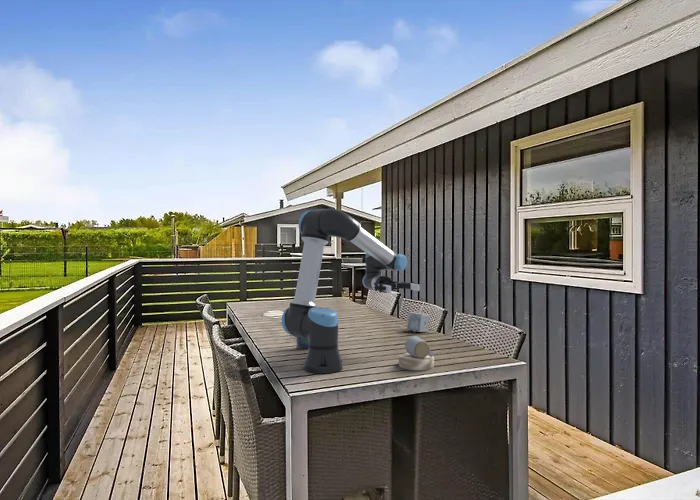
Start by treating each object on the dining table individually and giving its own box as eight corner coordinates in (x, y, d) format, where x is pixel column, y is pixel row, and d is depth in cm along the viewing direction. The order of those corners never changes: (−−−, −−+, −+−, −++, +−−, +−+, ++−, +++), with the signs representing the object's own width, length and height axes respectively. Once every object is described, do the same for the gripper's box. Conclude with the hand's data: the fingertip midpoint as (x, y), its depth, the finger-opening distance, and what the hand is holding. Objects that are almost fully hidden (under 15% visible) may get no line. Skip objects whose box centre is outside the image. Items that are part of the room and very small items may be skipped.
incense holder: (430, 332, 256) (430, 312, 255) (420, 334, 250) (420, 314, 250) (416, 329, 263) (416, 310, 263) (406, 331, 258) (406, 312, 258)
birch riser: (421, 373, 179) (421, 363, 179) (391, 367, 189) (391, 357, 189) (440, 366, 190) (440, 356, 189) (411, 360, 199) (411, 350, 199)
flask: (295, 348, 218) (295, 325, 218) (297, 347, 221) (297, 324, 221) (315, 349, 217) (315, 326, 216) (316, 348, 220) (316, 325, 219)
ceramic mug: (414, 360, 184) (414, 340, 183) (404, 355, 191) (404, 336, 191) (437, 357, 188) (438, 338, 187) (427, 353, 195) (427, 334, 195)
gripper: (406, 290, 222) (430, 295, 202) (357, 293, 212) (378, 299, 193) (406, 274, 222) (430, 278, 202) (357, 276, 212) (378, 280, 192)
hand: (404, 288), depth 197 cm, fingers open, 13 cm apart
